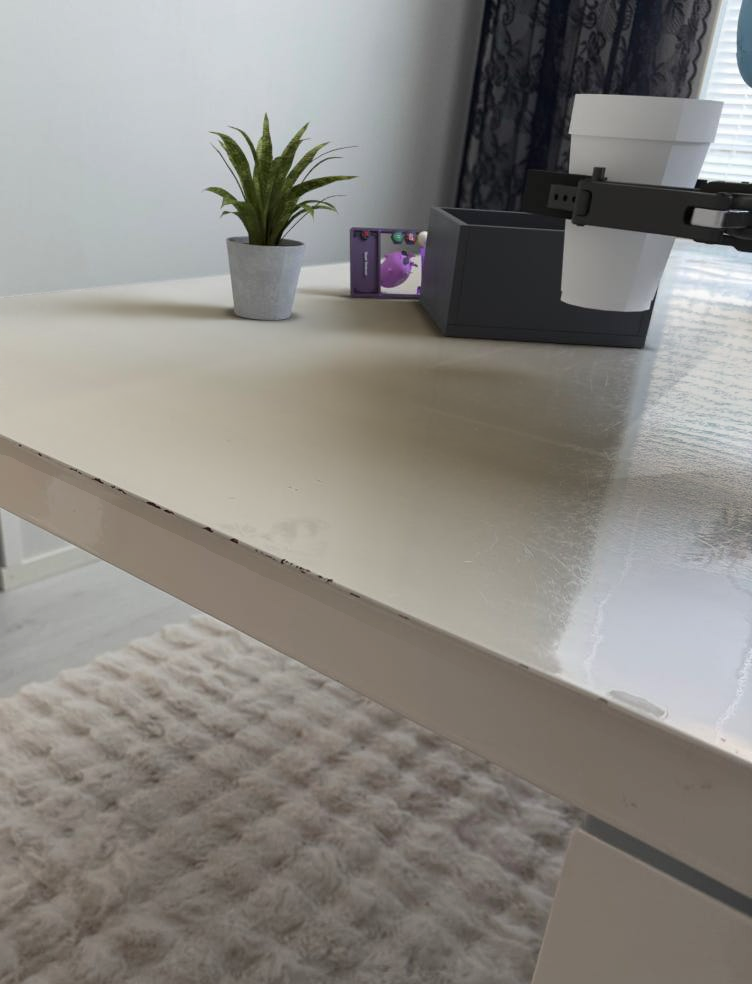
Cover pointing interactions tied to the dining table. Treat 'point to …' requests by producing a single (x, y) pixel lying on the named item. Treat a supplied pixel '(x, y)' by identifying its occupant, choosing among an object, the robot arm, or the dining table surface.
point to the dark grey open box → (511, 282)
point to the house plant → (268, 223)
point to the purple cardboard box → (367, 261)
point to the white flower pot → (632, 159)
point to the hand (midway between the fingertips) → (578, 191)
